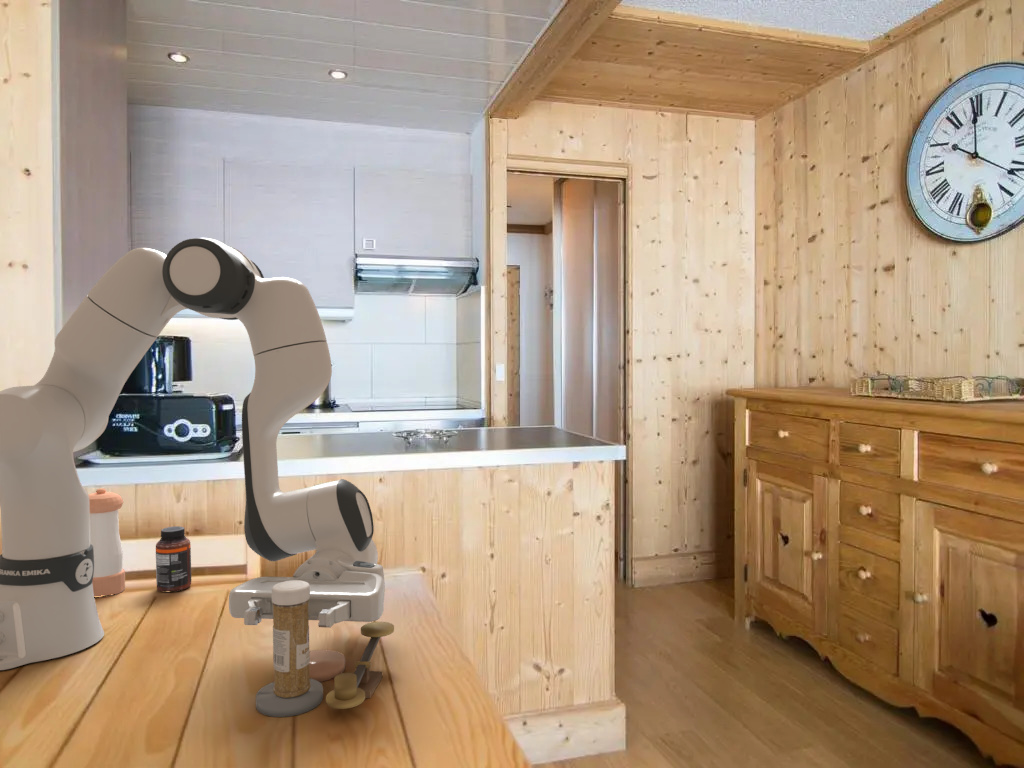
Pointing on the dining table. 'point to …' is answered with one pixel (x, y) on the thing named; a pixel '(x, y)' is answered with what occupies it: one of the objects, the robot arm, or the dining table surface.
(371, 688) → the balance
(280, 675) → the spice jar
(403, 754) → the dining table surface
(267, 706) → the grey oval pebble
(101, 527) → the pepper shaker
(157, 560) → the supplement bottle
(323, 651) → the peach oval pebble
